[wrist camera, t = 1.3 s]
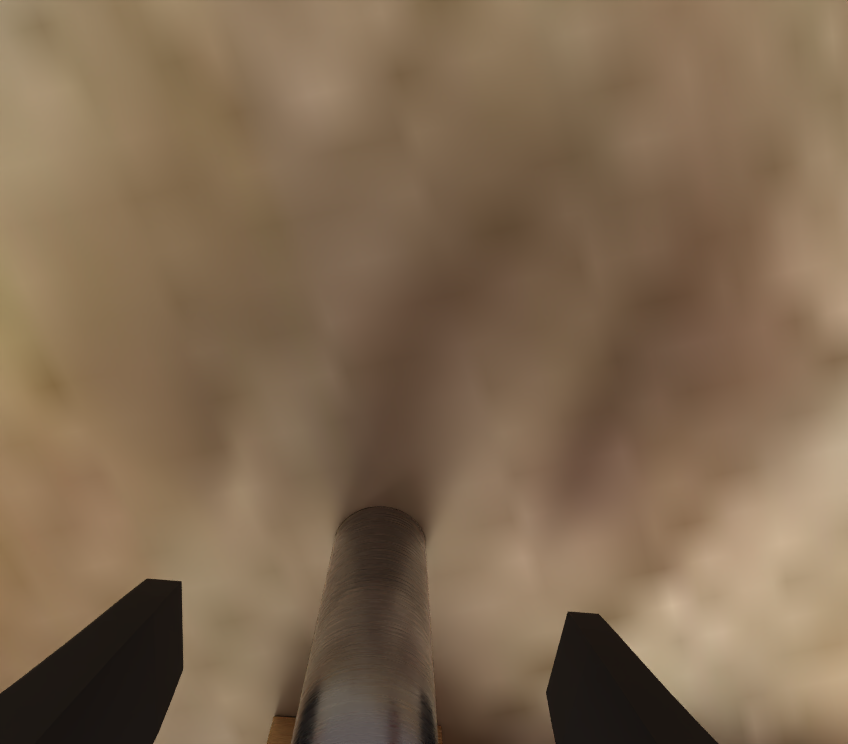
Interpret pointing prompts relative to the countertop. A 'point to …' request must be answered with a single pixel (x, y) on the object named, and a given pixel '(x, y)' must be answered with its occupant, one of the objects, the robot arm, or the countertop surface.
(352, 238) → the countertop surface
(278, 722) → the hinge leaves
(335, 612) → the hinge pin
